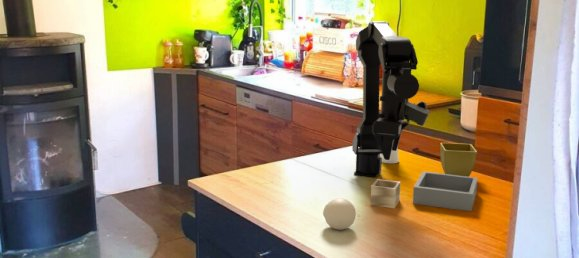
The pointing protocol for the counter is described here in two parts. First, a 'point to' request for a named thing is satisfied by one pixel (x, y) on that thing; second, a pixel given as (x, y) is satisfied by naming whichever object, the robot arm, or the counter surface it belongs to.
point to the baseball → (339, 213)
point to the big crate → (445, 191)
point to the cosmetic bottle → (391, 157)
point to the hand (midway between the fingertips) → (390, 154)
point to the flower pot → (457, 158)
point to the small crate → (385, 193)
